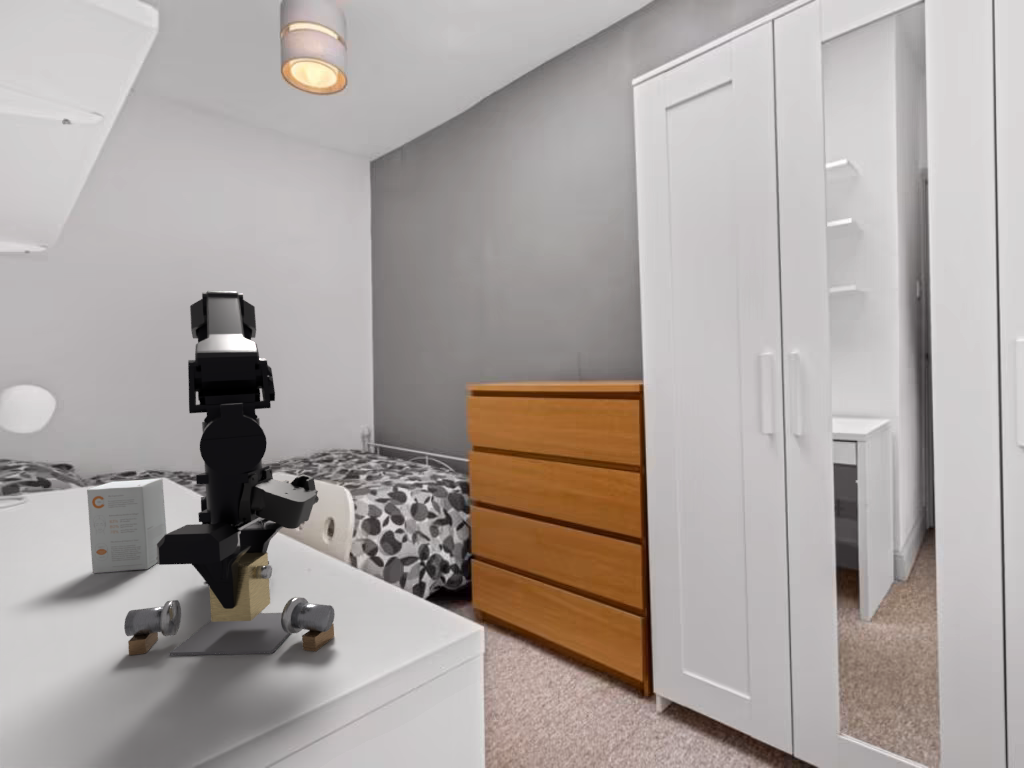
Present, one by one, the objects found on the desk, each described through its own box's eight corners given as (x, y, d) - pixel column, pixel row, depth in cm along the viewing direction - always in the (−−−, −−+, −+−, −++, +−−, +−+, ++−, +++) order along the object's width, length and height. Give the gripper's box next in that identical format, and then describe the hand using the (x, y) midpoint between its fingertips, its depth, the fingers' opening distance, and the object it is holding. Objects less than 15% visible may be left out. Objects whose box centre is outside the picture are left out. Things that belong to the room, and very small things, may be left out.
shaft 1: (182, 635, 62) (180, 594, 62) (170, 650, 59) (167, 608, 59) (138, 640, 61) (136, 600, 61) (123, 657, 58) (121, 613, 58)
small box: (168, 556, 91) (164, 477, 91) (147, 570, 85) (142, 485, 84) (116, 560, 90) (111, 480, 90) (90, 574, 84) (85, 489, 83)
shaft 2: (282, 648, 58) (280, 605, 58) (304, 632, 62) (302, 591, 62) (317, 652, 57) (315, 609, 57) (338, 636, 61) (336, 595, 60)
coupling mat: (218, 616, 67) (218, 614, 67) (307, 614, 66) (307, 612, 66) (169, 655, 58) (169, 652, 58) (272, 653, 57) (272, 650, 57)
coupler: (223, 604, 64) (220, 553, 64) (280, 603, 64) (277, 552, 64) (200, 621, 60) (197, 567, 60) (261, 620, 60) (258, 565, 60)
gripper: (263, 475, 52) (272, 638, 52) (334, 446, 71) (340, 566, 71) (148, 479, 52) (158, 640, 53) (249, 449, 71) (256, 569, 72)
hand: (241, 598), depth 62 cm, fingers closed on coupler, 4 cm apart
